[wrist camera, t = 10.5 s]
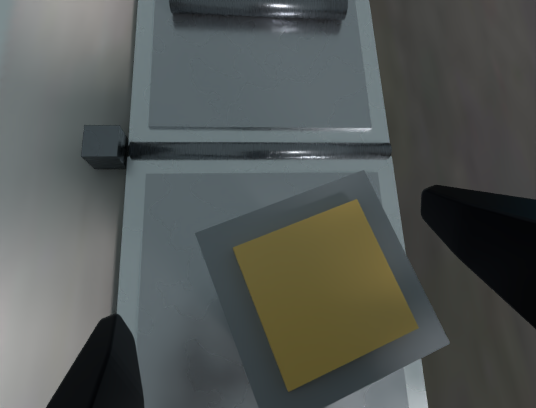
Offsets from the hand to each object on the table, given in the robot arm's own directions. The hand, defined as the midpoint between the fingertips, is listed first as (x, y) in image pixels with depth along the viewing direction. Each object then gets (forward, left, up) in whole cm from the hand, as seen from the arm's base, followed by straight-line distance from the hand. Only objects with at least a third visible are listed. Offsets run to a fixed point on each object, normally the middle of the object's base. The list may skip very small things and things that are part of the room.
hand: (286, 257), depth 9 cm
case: (-4, -5, -8) cm, 10 cm away
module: (0, +1, -7) cm, 7 cm away
